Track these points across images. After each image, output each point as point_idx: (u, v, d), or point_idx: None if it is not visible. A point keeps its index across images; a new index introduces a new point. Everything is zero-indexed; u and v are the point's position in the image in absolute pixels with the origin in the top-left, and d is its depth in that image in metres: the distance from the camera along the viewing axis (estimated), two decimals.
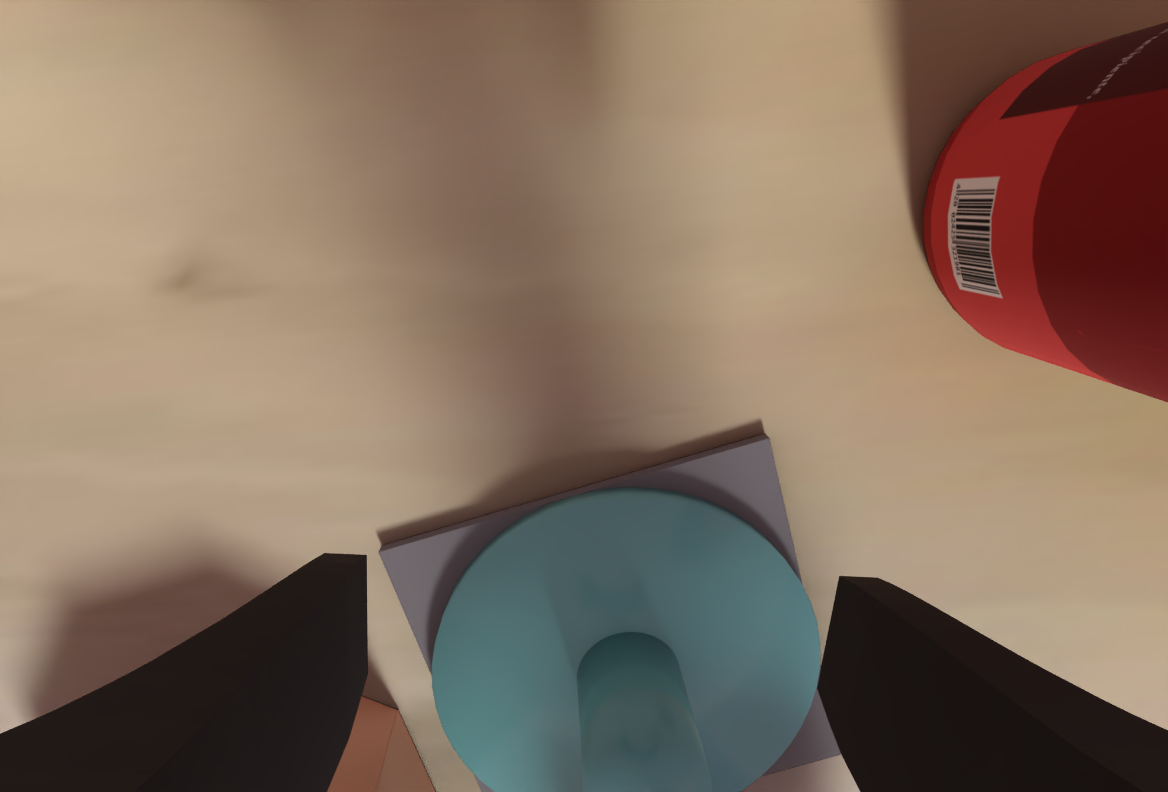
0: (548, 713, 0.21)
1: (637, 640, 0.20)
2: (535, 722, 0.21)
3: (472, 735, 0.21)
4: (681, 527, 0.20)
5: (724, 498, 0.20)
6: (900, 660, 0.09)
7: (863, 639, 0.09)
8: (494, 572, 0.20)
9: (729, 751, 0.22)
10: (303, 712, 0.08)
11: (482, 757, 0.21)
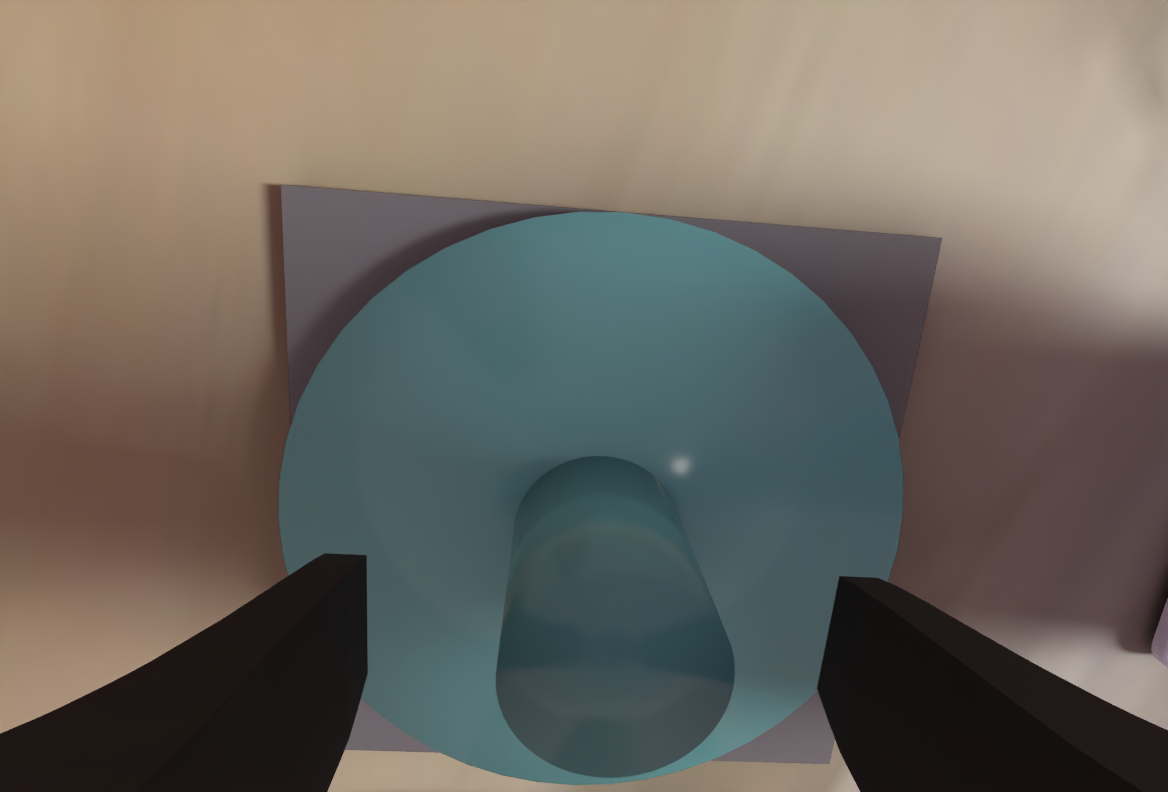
0: None
1: (521, 508, 0.12)
2: None
3: None
4: (362, 378, 0.12)
5: (366, 288, 0.12)
6: (900, 660, 0.09)
7: (863, 639, 0.09)
8: None
9: (809, 430, 0.13)
10: (303, 712, 0.08)
11: None
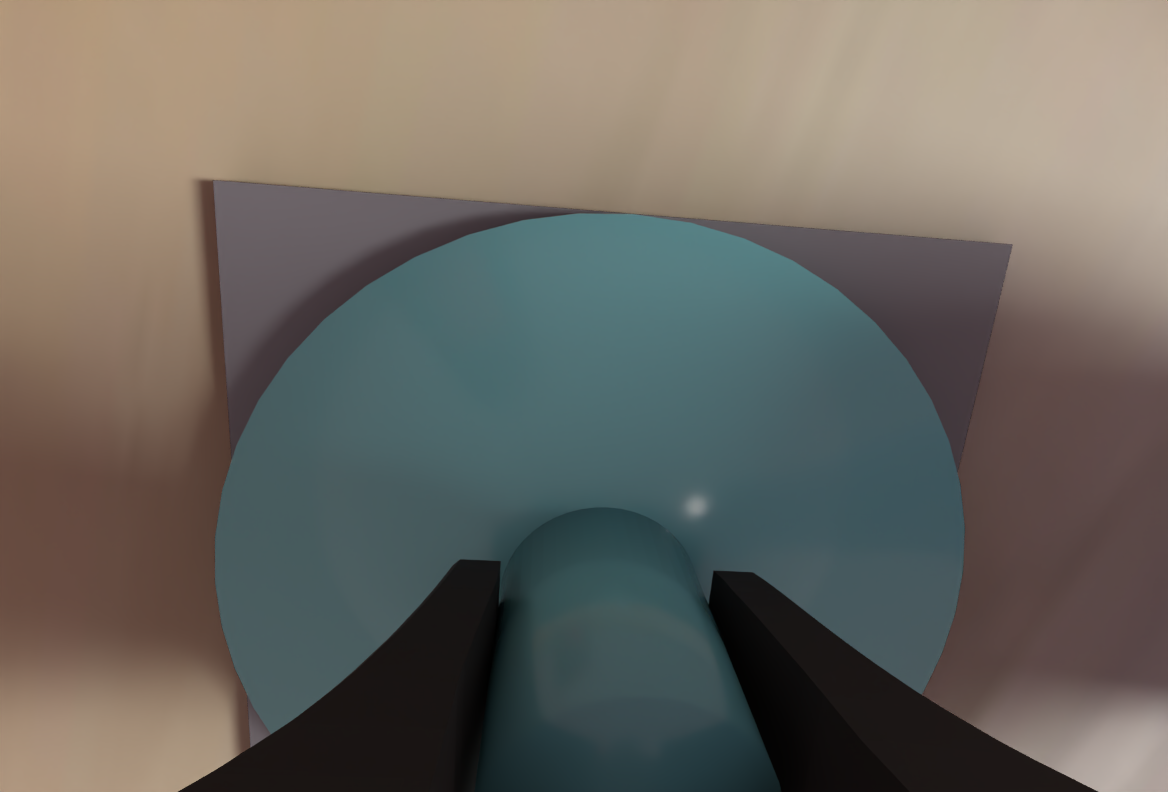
0: None
1: (508, 572, 0.10)
2: None
3: None
4: (313, 416, 0.10)
5: (320, 306, 0.10)
6: (750, 655, 0.08)
7: (726, 634, 0.09)
8: None
9: (854, 475, 0.11)
10: (474, 717, 0.08)
11: None
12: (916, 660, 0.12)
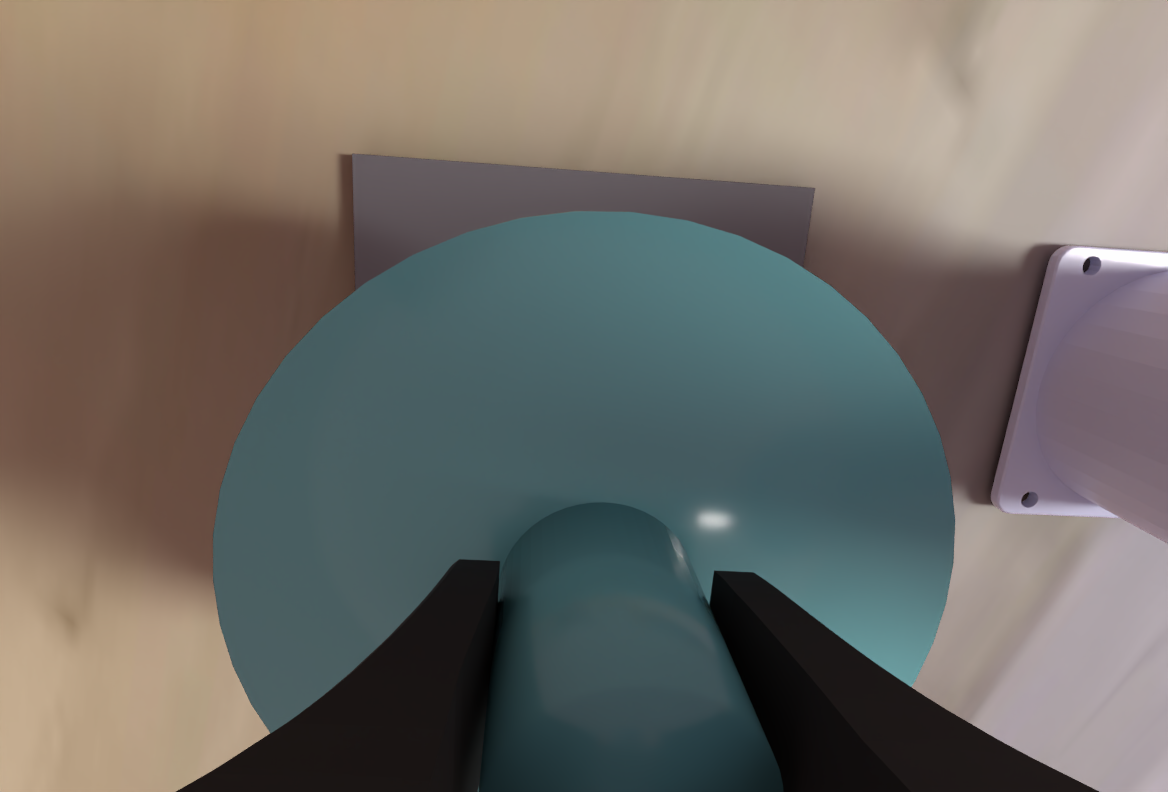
0: None
1: (507, 567, 0.10)
2: None
3: None
4: (312, 414, 0.10)
5: (410, 226, 0.18)
6: (751, 655, 0.08)
7: (727, 634, 0.09)
8: None
9: (847, 469, 0.11)
10: (473, 717, 0.08)
11: None
12: (908, 650, 0.12)
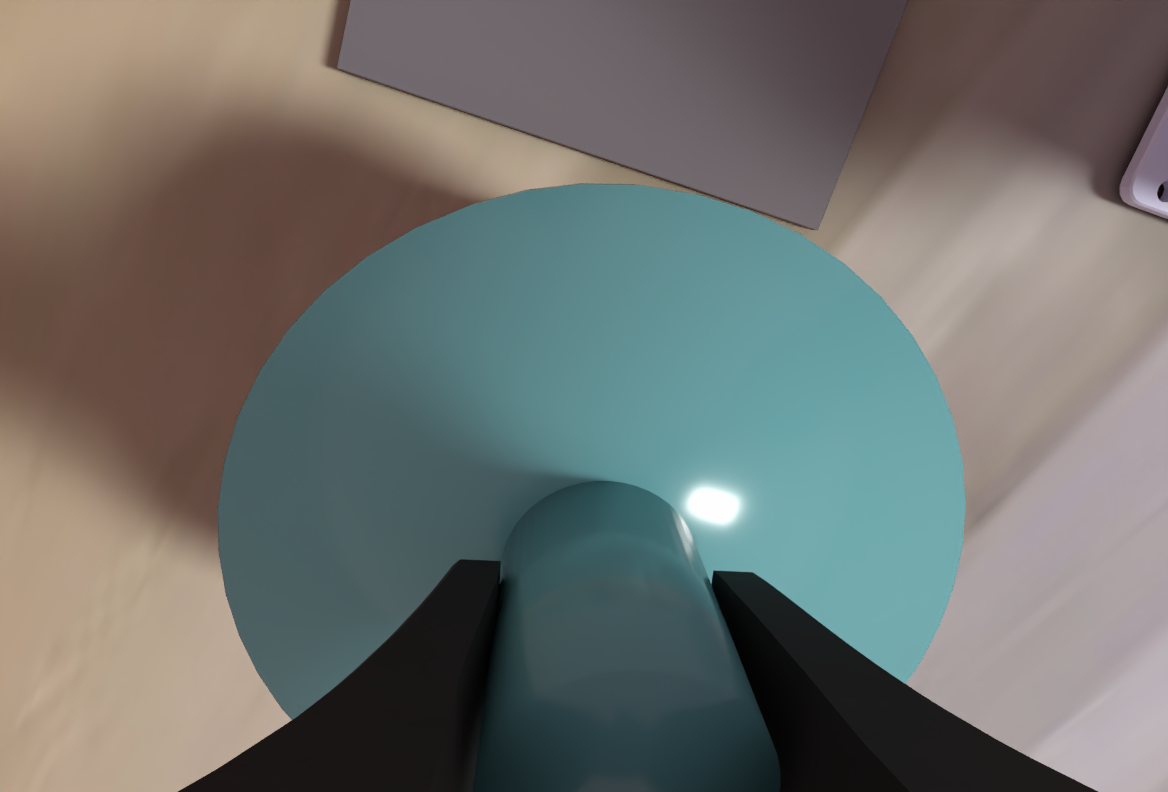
0: None
1: (510, 544, 0.10)
2: None
3: None
4: (315, 388, 0.10)
5: None
6: (750, 654, 0.08)
7: None
8: (310, 697, 0.12)
9: (856, 451, 0.11)
10: (474, 717, 0.08)
11: None
12: (913, 633, 0.12)
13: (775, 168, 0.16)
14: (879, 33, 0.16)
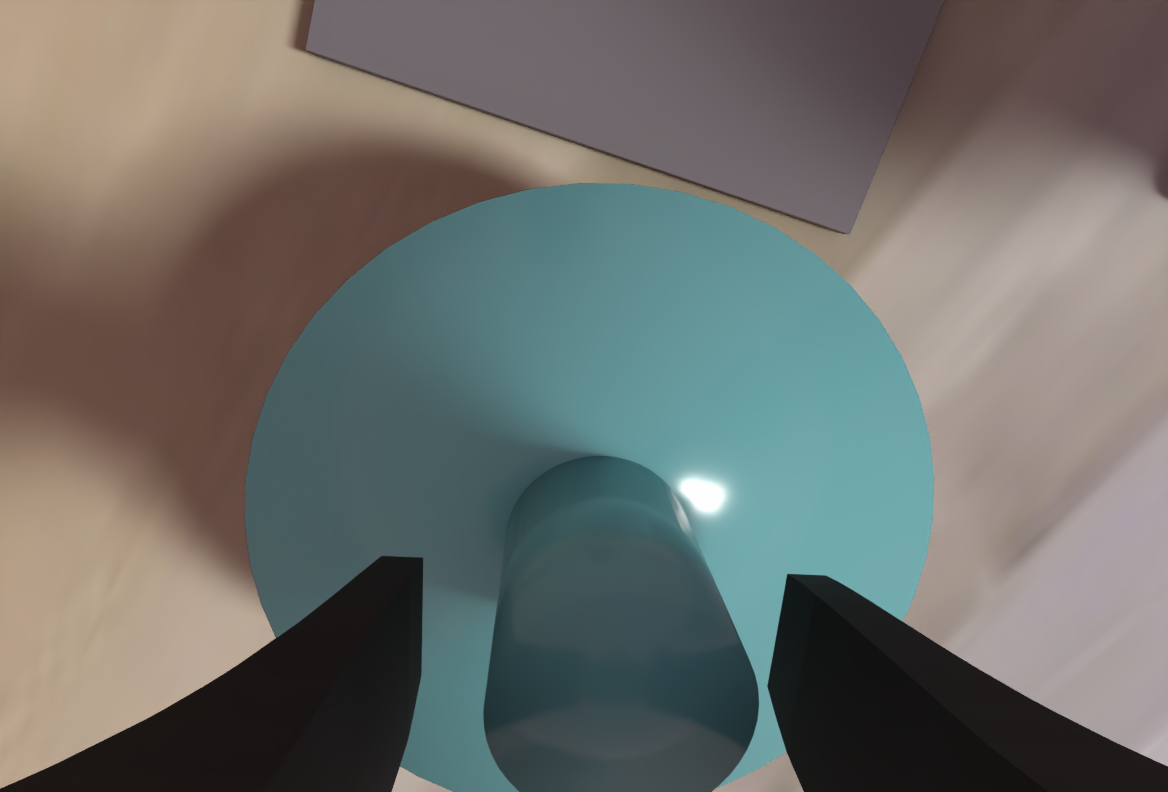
0: None
1: (514, 514, 0.11)
2: None
3: None
4: (337, 368, 0.11)
5: None
6: (838, 658, 0.08)
7: (806, 637, 0.09)
8: None
9: (832, 428, 0.12)
10: (375, 715, 0.08)
11: None
12: (890, 603, 0.13)
13: (803, 164, 0.15)
14: (922, 11, 0.14)
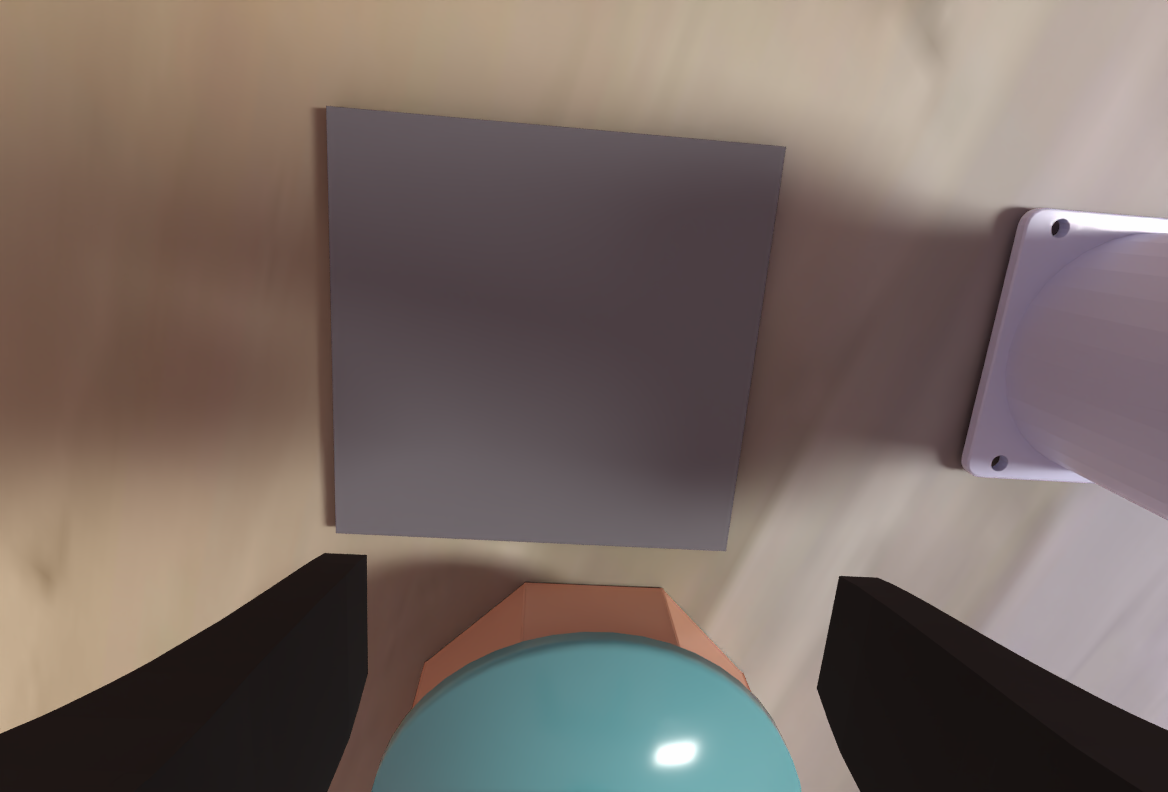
0: None
1: None
2: None
3: None
4: (404, 783, 0.18)
5: (384, 180, 0.18)
6: (900, 660, 0.09)
7: (863, 639, 0.09)
8: None
9: (717, 748, 0.18)
10: (303, 712, 0.08)
11: None
12: None
13: (680, 518, 0.21)
14: (734, 412, 0.20)
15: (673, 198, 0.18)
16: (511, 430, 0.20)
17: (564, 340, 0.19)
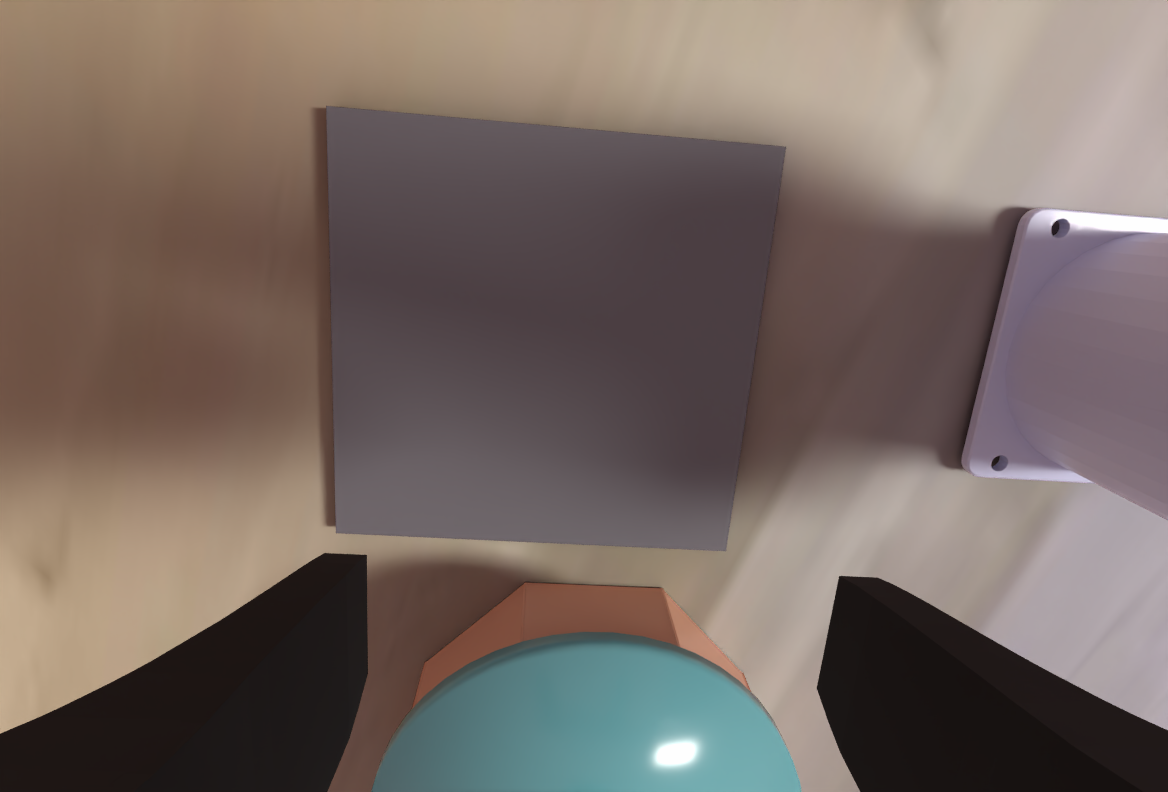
0: None
1: None
2: None
3: None
4: (404, 783, 0.18)
5: (384, 180, 0.18)
6: (900, 660, 0.09)
7: (863, 639, 0.09)
8: None
9: (717, 748, 0.18)
10: (303, 712, 0.08)
11: None
12: None
13: (680, 518, 0.21)
14: (734, 412, 0.20)
15: (673, 198, 0.18)
16: (511, 430, 0.20)
17: (564, 340, 0.19)
